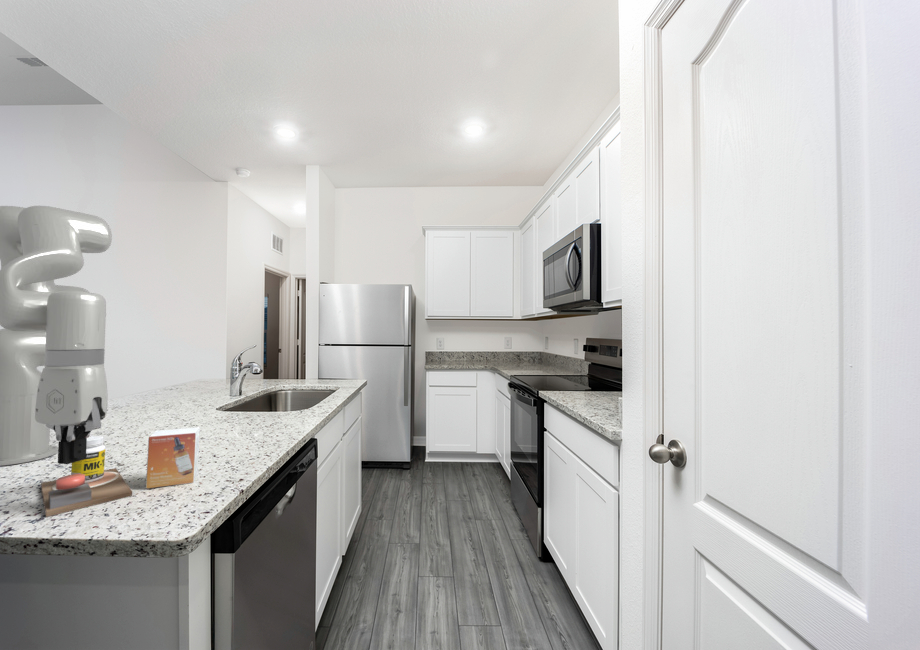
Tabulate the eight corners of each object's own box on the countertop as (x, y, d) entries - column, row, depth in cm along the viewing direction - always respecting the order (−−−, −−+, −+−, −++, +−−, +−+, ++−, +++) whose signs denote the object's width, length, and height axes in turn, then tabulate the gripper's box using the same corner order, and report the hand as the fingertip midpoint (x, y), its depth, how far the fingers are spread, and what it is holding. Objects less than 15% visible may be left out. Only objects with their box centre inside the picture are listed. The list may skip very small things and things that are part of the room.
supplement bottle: (82, 485, 72) (85, 442, 73) (63, 483, 73) (66, 440, 74) (110, 476, 77) (112, 435, 77) (92, 474, 78) (94, 434, 78)
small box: (145, 490, 74) (147, 436, 74) (152, 479, 79) (154, 429, 79) (194, 483, 77) (196, 432, 78) (198, 473, 82) (200, 426, 83)
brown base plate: (41, 487, 74) (41, 474, 74) (115, 471, 82) (116, 460, 83) (46, 516, 62) (46, 502, 63) (132, 495, 71) (132, 483, 71)
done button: (55, 485, 67) (55, 477, 67) (83, 479, 70) (83, 472, 70) (56, 491, 65) (56, 483, 65) (85, 485, 67) (86, 477, 67)
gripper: (15, 360, 65) (11, 466, 65) (85, 361, 63) (81, 471, 62) (67, 358, 73) (64, 452, 72) (131, 359, 70) (128, 457, 69)
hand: (72, 461), depth 67 cm, fingers closed
